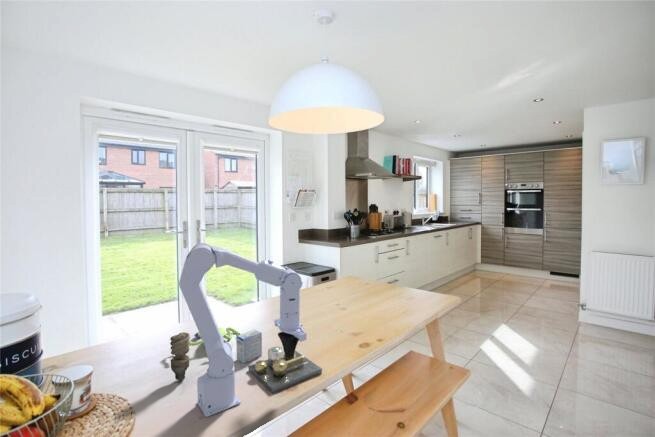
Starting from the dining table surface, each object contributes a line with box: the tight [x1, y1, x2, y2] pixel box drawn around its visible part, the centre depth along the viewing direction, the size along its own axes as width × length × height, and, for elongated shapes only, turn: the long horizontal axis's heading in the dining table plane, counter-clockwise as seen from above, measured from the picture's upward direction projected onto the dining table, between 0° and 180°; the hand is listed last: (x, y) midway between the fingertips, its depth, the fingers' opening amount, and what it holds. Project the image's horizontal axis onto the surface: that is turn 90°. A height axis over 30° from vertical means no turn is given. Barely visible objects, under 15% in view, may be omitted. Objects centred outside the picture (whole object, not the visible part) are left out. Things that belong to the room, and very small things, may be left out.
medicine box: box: [235, 329, 263, 364], centre depth 115 cm, size 8×4×9 cm, turn 141°
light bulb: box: [169, 331, 191, 382], centre depth 100 cm, size 6×6×15 cm
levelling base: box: [248, 346, 323, 394], centre depth 105 cm, size 18×16×7 cm
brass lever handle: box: [273, 354, 306, 376], centre depth 104 cm, size 11×4×3 cm, turn 129°
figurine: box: [189, 326, 242, 347], centre depth 124 cm, size 18×27×6 cm
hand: (289, 356), depth 96 cm, fingers closed
